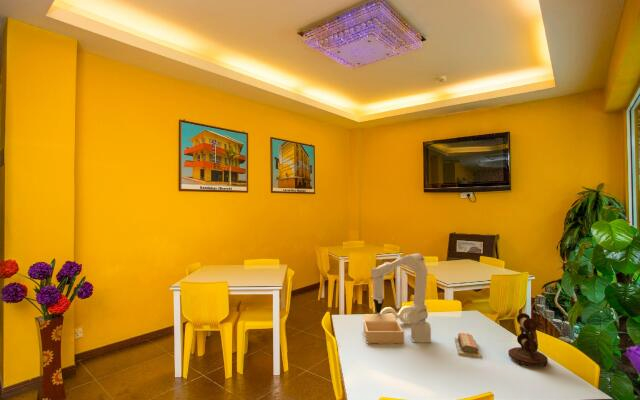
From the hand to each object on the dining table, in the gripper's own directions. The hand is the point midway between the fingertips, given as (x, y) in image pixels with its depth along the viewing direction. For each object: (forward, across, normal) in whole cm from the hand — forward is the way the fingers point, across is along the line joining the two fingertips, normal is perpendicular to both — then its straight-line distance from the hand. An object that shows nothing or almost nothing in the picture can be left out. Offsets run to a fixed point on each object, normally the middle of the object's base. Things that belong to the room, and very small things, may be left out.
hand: (378, 312), depth 188 cm
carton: (+8, +16, 0) cm, 18 cm away
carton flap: (+1, +5, 0) cm, 5 cm away
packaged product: (+9, +28, +39) cm, 49 cm away
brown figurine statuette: (+9, +40, +60) cm, 73 cm away
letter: (+9, -4, +12) cm, 15 cm away
